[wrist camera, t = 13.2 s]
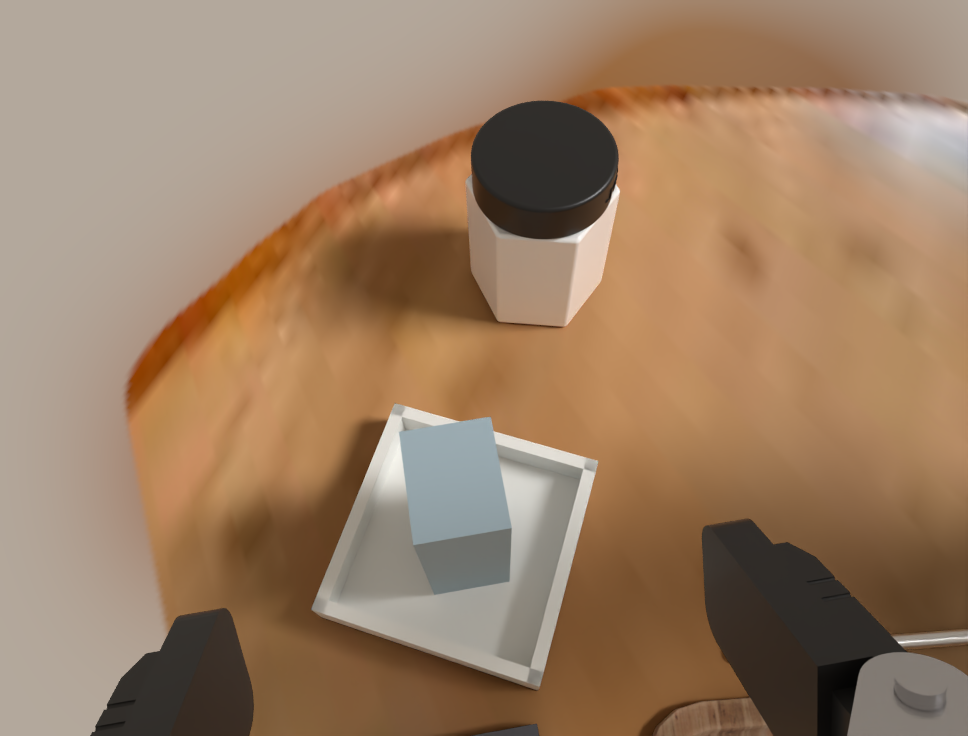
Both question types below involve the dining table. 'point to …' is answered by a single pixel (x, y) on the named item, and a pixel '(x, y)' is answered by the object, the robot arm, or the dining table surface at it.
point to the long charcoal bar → (515, 731)
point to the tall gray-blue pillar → (457, 504)
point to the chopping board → (737, 723)
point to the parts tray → (471, 612)
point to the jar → (541, 210)
